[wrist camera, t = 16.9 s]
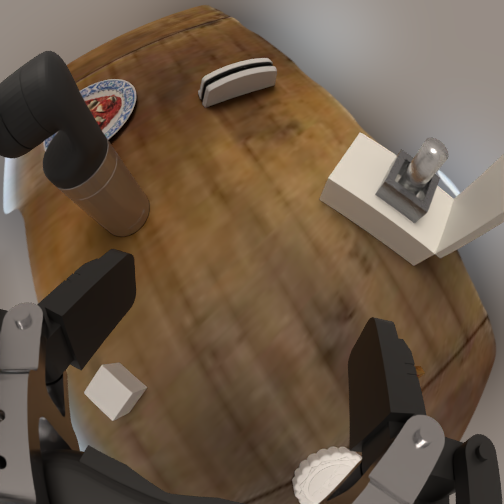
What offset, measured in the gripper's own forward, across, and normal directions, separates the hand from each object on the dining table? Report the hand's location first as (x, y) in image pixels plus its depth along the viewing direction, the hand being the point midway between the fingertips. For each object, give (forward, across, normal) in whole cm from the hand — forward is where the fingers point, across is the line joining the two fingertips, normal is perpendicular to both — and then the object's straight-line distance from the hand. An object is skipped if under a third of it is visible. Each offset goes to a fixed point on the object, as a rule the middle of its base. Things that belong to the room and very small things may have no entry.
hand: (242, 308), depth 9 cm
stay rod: (+36, -18, +1) cm, 40 cm away
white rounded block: (+56, +15, -8) cm, 59 cm away
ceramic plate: (+48, +49, 0) cm, 68 cm away
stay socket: (+37, -18, +1) cm, 41 cm away
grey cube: (+13, +17, +35) cm, 41 cm away
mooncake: (+9, -18, +39) cm, 44 cm away
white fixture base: (+42, -17, +6) cm, 45 cm away
